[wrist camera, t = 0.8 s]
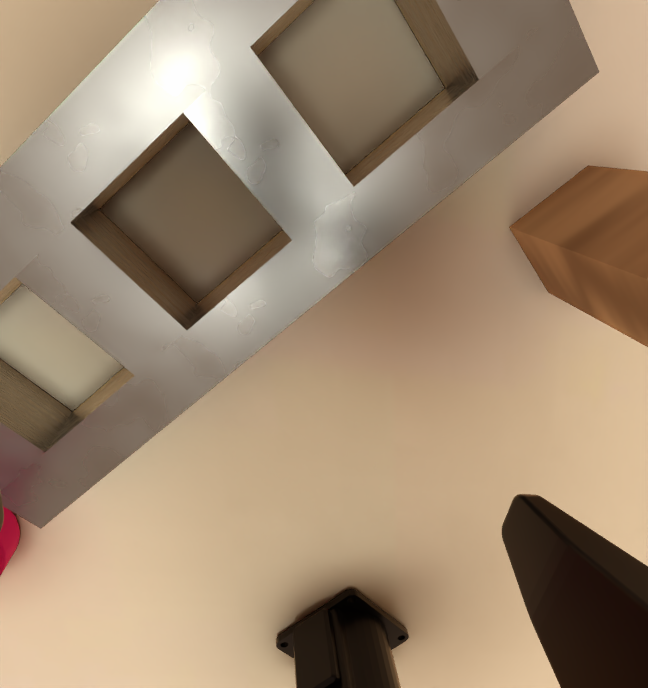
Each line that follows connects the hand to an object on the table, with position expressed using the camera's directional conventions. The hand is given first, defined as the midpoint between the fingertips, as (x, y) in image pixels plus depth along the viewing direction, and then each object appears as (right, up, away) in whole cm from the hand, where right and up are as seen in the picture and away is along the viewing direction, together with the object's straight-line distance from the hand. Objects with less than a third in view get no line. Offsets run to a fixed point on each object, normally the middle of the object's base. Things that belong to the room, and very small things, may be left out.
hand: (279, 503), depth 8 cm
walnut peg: (+12, +8, +13) cm, 19 cm away
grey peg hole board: (-4, +8, +10) cm, 14 cm away
